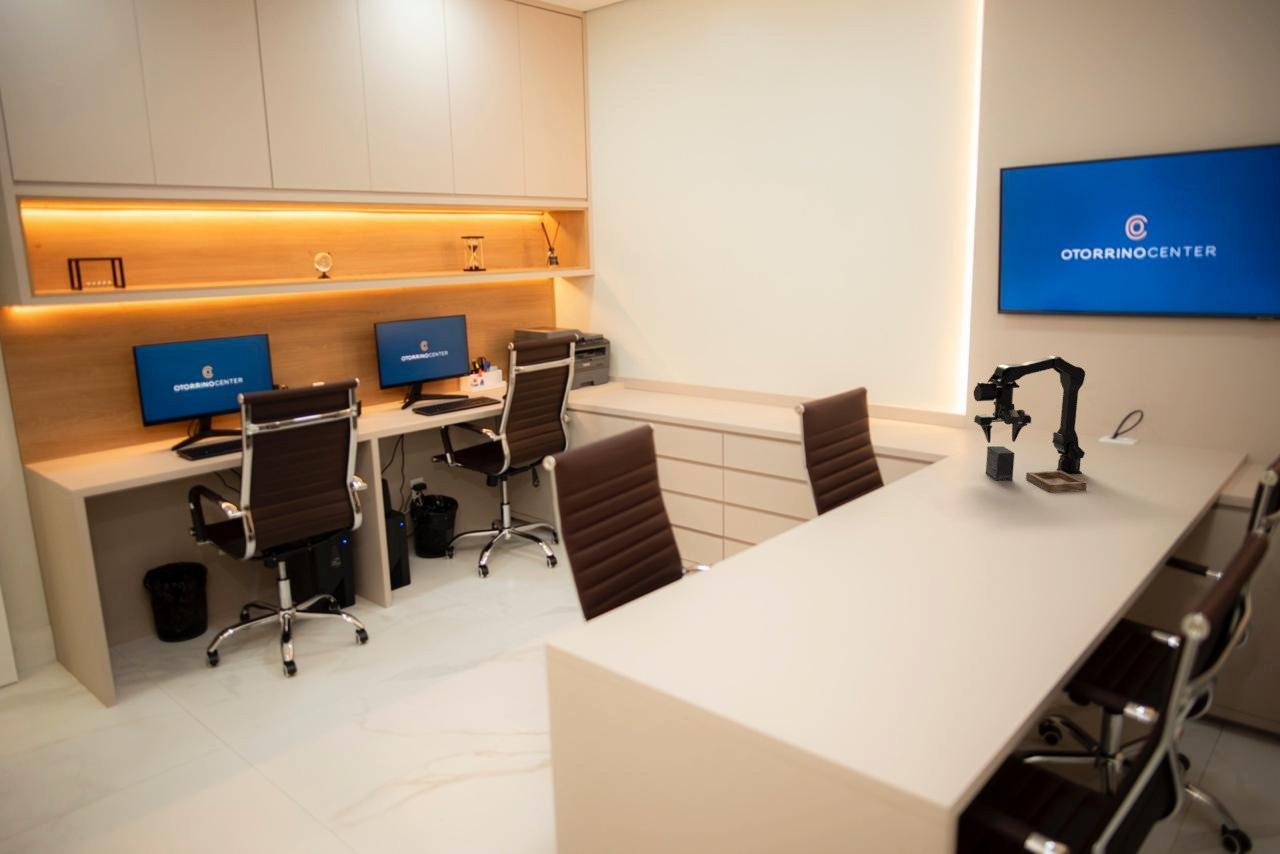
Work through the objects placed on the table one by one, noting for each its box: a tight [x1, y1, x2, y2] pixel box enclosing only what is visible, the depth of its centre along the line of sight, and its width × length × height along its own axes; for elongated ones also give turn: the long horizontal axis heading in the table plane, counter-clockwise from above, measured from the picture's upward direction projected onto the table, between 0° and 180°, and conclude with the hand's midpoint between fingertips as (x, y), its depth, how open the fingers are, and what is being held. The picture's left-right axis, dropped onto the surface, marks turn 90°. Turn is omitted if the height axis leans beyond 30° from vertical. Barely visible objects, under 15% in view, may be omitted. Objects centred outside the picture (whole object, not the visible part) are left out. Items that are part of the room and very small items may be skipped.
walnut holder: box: [1025, 470, 1087, 493], centre depth 301 cm, size 13×16×3 cm
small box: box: [985, 445, 1015, 482], centre depth 312 cm, size 11×6×10 cm, turn 179°
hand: (1001, 442), depth 310 cm, fingers open, 9 cm apart
